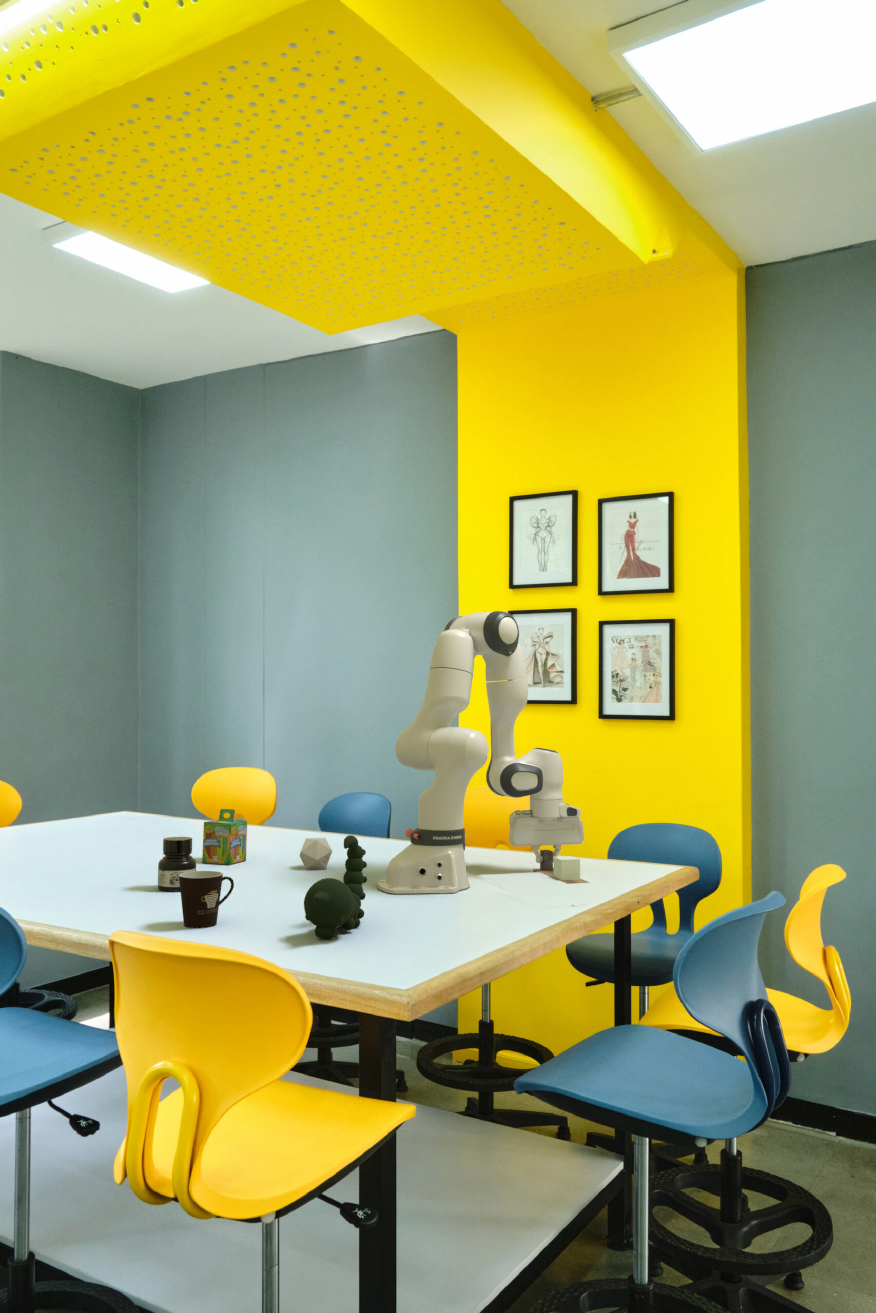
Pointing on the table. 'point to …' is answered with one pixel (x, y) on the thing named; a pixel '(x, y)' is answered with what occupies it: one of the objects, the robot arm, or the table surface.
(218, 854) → the chalk box
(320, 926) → the toy figurine
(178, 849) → the ink bottle
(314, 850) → the die
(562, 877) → the cube
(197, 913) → the coffee mug
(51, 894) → the table surface
